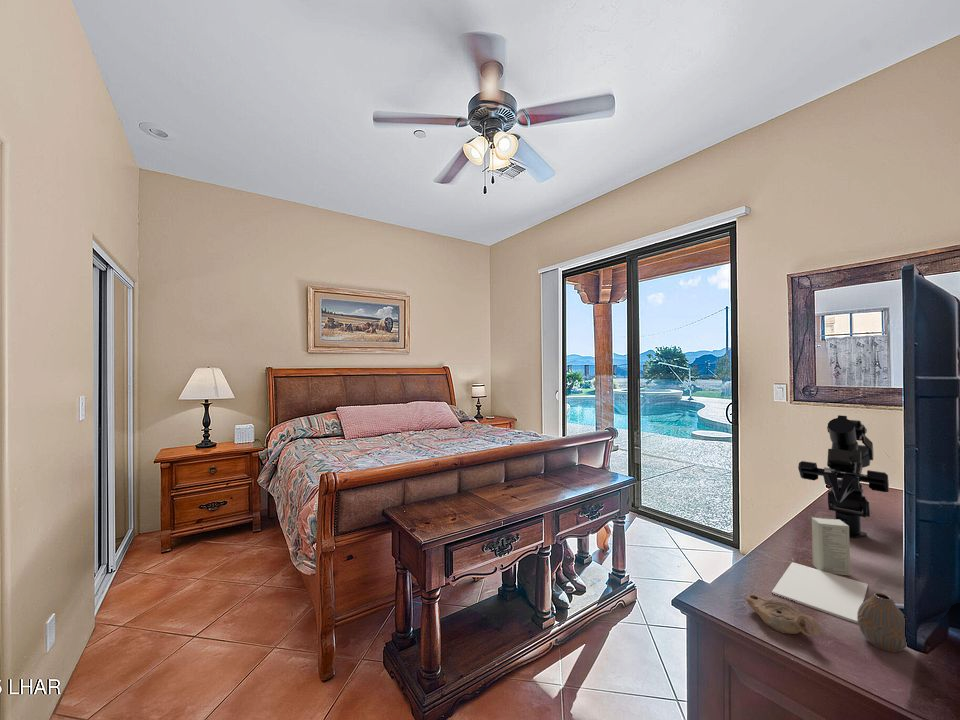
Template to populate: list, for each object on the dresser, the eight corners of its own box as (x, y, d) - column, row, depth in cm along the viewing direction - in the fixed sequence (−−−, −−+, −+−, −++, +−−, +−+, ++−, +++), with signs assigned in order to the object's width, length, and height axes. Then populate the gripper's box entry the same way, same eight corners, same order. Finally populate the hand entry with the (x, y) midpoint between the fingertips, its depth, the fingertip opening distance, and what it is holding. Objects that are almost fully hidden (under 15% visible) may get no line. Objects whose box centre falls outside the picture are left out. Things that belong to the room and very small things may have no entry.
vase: (922, 660, 70) (921, 609, 70) (875, 655, 71) (874, 604, 71) (890, 634, 76) (890, 587, 77) (848, 629, 78) (847, 583, 78)
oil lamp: (737, 610, 84) (736, 586, 84) (765, 604, 86) (765, 581, 86) (801, 653, 72) (800, 625, 72) (832, 646, 73) (832, 618, 73)
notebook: (792, 564, 103) (792, 562, 103) (867, 586, 93) (867, 584, 93) (771, 593, 90) (771, 591, 90) (857, 623, 80) (857, 621, 80)
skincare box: (841, 568, 101) (841, 519, 102) (851, 576, 97) (850, 526, 97) (811, 564, 103) (810, 516, 104) (819, 572, 99) (818, 522, 99)
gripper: (799, 433, 121) (791, 477, 114) (887, 442, 107) (885, 493, 100) (804, 456, 126) (797, 499, 119) (889, 467, 112) (887, 517, 105)
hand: (838, 501), depth 110 cm, fingers closed
